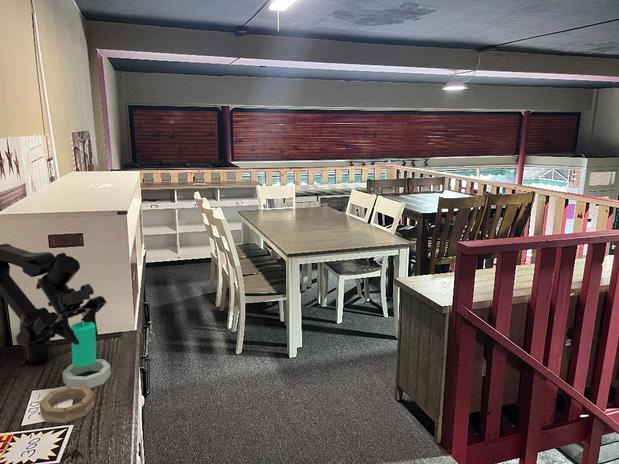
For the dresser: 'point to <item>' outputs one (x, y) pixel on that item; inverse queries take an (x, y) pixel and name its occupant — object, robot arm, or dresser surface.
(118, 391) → the dresser surface
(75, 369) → the socket
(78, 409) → the socket
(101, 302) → the robot arm
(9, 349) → the dresser surface
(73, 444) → the dresser surface
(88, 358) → the candle
